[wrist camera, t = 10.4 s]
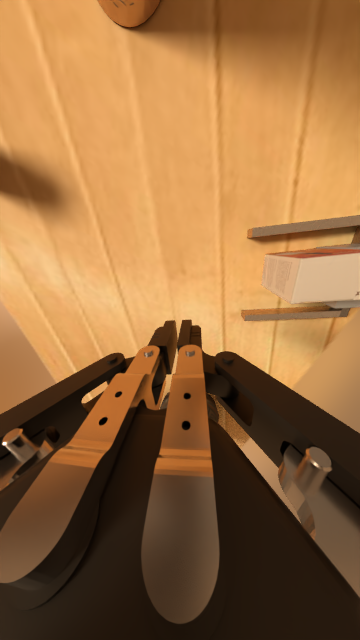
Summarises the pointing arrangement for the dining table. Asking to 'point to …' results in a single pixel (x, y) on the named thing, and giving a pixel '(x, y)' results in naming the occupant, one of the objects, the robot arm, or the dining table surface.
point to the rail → (301, 311)
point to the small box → (313, 275)
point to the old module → (347, 302)
